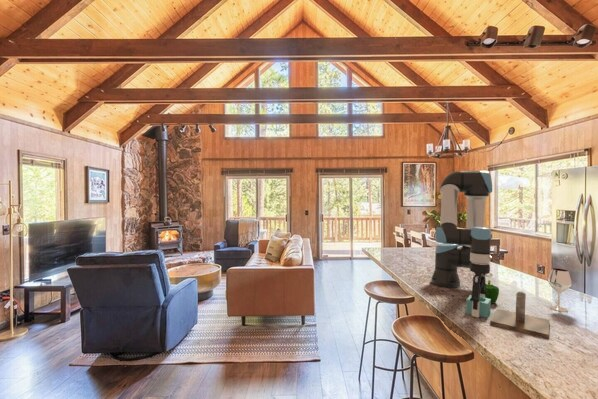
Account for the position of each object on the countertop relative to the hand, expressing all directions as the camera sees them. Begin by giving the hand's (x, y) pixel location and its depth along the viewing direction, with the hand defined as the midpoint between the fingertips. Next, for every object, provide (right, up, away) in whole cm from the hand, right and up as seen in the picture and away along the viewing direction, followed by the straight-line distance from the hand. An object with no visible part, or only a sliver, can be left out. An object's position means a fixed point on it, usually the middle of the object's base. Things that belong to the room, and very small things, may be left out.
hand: (478, 312), depth 135 cm
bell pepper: (+13, 0, +15) cm, 20 cm away
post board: (+10, -1, -11) cm, 15 cm away
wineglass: (+41, -1, +7) cm, 41 cm away
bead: (0, 0, 0) cm, 0 cm away
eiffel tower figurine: (+41, -1, +69) cm, 80 cm away
